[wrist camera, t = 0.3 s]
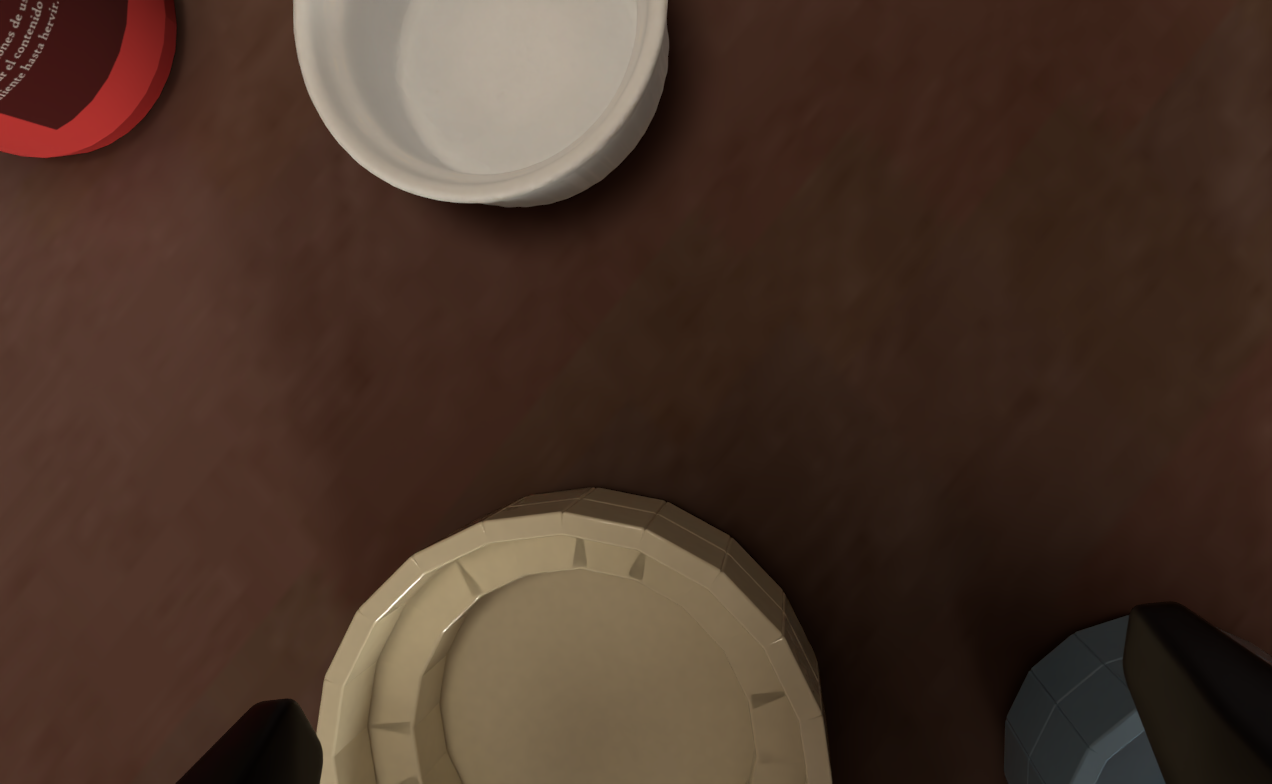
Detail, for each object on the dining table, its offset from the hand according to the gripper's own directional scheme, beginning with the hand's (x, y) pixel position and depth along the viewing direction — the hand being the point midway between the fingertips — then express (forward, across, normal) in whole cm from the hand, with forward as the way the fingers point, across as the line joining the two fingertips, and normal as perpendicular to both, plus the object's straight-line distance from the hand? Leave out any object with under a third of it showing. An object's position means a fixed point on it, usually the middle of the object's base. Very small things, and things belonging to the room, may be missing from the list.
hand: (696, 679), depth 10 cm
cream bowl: (+10, +4, +12) cm, 16 cm away
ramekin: (+19, +4, -3) cm, 20 cm away
